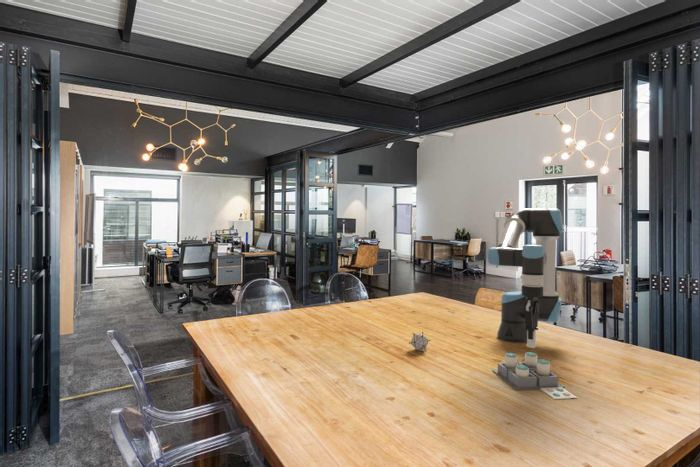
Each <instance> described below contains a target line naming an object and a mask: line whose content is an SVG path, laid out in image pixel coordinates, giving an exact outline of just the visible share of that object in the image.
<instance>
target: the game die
mask: <svg viewBox="0 0 700 467" xmlns="http://www.w3.org/2000/svg"><path fill="white" fill-rule="evenodd" d="M412 335H413V336H412V337H411V340H410V342H408V344H411V346H412V347H413V348H414V350H415V352H416V353H417V352H418V351H427V346H428V344H429V342H431V339H428V338H427V337H426V336H425V335H424V331H422V333H414V332H413V333H412Z"/></svg>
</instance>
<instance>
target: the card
mask: <svg viewBox="0 0 700 467" xmlns="http://www.w3.org/2000/svg"><path fill="white" fill-rule="evenodd" d="M539 390H541V391H542V392H543V393H545V394H546V395H548V396H549V397H550V398H552V399H553V400H571V398H575V399H578V397H577V396H576V395H574V394H573V393H571V392H570V391H568V390H566V388H562V387H555V388H540V389H539Z"/></svg>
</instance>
